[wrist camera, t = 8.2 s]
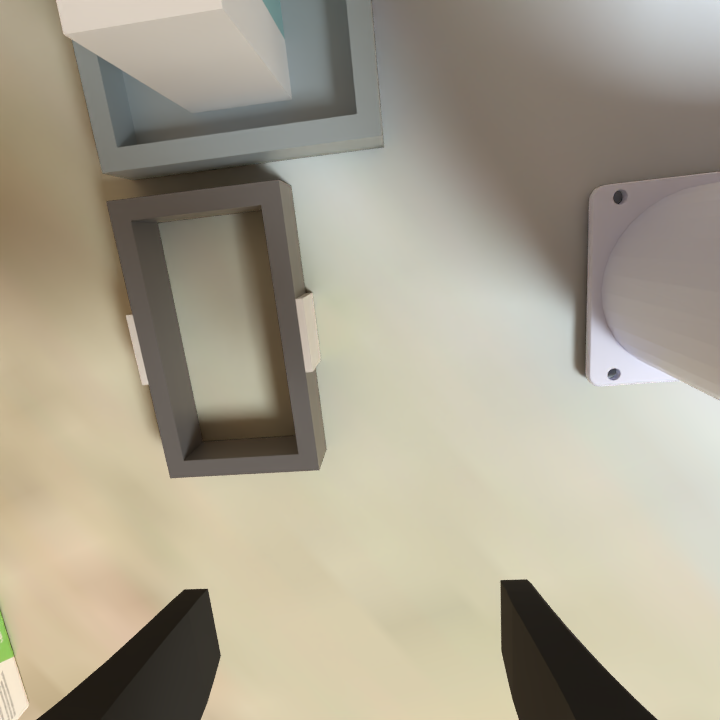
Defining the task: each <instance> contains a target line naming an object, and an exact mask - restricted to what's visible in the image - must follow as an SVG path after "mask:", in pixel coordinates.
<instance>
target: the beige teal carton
mask: <svg viewBox="0 0 720 720" xmlns="http://www.w3.org/2000/svg"><path fill="white" fill-rule="evenodd" d="M56 3H57V7H58V12H59V16H60V21H61V25H62V29H63V34H64V35H65V36H67V37H68V38H70V39H72V40H73V41H75V42H77V43H78V44H80V45H82V46H83V47H85V48H86V49H88V50H90V51H91V52H93V53H95V54H96V55H98V56H99V57H101V58H103V59H104V60H106V61H108V62H109V63H111V64H113V65H114V66H116V67H117V68H119V69H121V70H122V71H124V72H126V73H127V74H129V75H130V76H132V77H134V78H135V79H137V80H139V81H140V82H142V83H144V84H145V85H147V86H148V87H150V88H152V89H153V90H155V91H157V92H158V93H160V94H162V95H163V96H165V97H166V98H168V99H170V100H171V101H173V102H175V103H176V104H178V105H179V106H181V107H183V108H184V109H186V110H188V111H189V112H191V113H199V112H206V111H213V110H220V109H227V108H235V107H242V106H249V105H256V104H264V103H271V102H278V101H285V100H292V94H291V86H290V78H289V69H288V61H287V53H286V45H285V37H284V29H283V20H282V12H281V4H280V0H56Z"/></svg>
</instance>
